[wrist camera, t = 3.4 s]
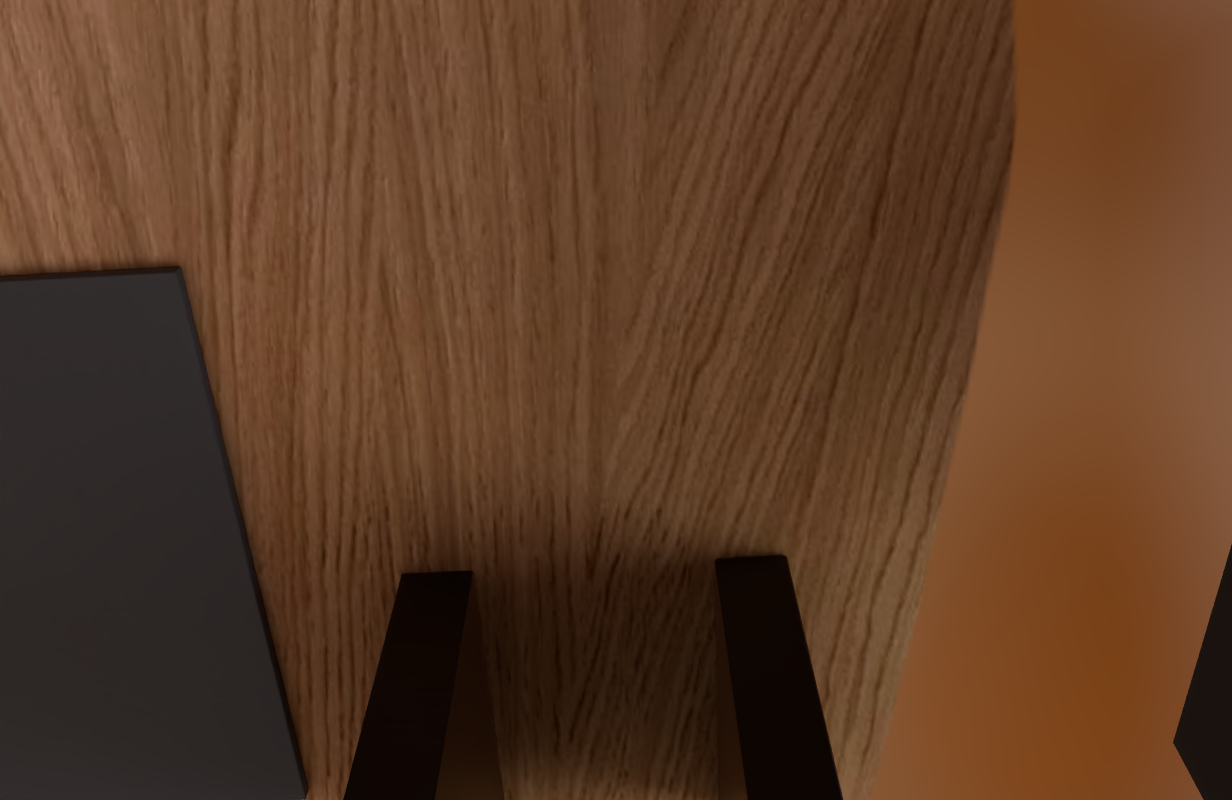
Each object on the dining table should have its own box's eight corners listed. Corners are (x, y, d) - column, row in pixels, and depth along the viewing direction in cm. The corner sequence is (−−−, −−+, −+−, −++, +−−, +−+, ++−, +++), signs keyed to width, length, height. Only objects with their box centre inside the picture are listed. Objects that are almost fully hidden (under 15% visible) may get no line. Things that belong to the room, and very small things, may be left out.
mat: (181, 266, 42) (175, 272, 42) (308, 789, 54) (305, 799, 54) (-310, 292, 43) (-321, 298, 42) (-74, 807, 55) (-81, 817, 54)
